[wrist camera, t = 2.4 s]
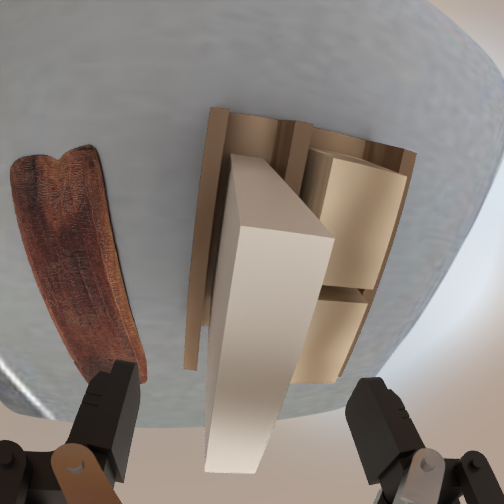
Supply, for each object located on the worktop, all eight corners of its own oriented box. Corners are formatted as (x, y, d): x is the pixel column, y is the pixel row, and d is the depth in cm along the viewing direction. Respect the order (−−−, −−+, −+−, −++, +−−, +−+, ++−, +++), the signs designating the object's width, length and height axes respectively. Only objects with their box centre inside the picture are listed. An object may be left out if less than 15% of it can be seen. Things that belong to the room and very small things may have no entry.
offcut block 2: (262, 317, 28) (274, 382, 21) (278, 244, 25) (299, 298, 18) (310, 321, 29) (334, 383, 21) (330, 251, 26) (367, 303, 19)
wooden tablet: (156, 395, 32) (76, 397, 30) (156, 381, 34) (80, 385, 32) (98, 140, 21) (-3, 164, 20) (105, 138, 23) (9, 161, 22)
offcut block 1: (280, 233, 25) (303, 283, 18) (298, 144, 22) (333, 157, 15) (333, 240, 26) (373, 289, 18) (353, 156, 23) (407, 176, 16)
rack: (190, 316, 29) (183, 369, 22) (214, 110, 22) (210, 106, 16) (320, 327, 31) (340, 376, 24) (371, 141, 24) (416, 153, 17)
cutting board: (210, 298, 27) (204, 471, 12) (230, 153, 22) (240, 225, 8) (238, 301, 27) (254, 473, 13) (263, 158, 23) (334, 238, 8)
